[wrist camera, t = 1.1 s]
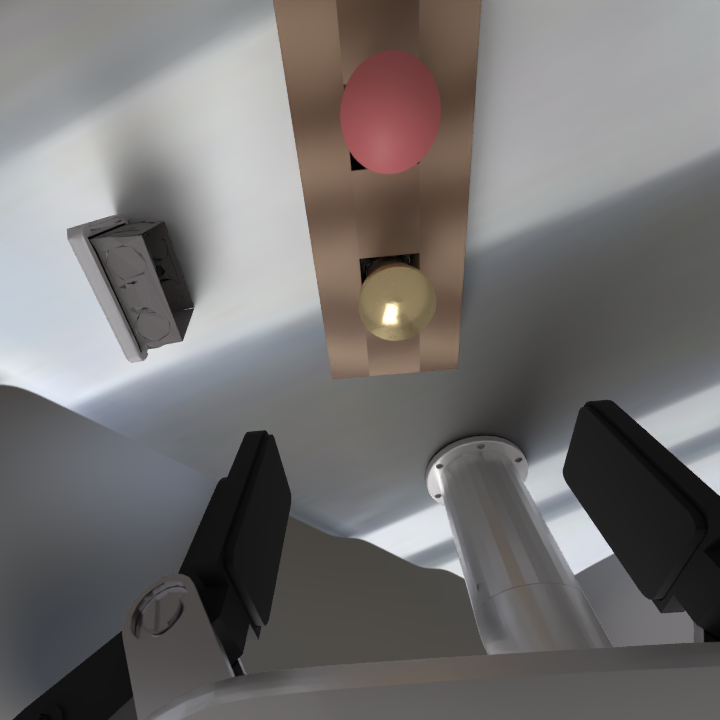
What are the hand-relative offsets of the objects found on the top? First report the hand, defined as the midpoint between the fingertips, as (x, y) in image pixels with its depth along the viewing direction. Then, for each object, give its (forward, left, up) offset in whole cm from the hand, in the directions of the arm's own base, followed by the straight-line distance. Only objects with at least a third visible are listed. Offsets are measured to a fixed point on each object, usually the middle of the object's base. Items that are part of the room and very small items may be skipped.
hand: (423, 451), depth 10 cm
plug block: (+5, -1, -22) cm, 23 cm away
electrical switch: (+2, +18, -23) cm, 29 cm away
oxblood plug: (+10, -1, -19) cm, 22 cm away
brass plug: (0, -1, -19) cm, 19 cm away
